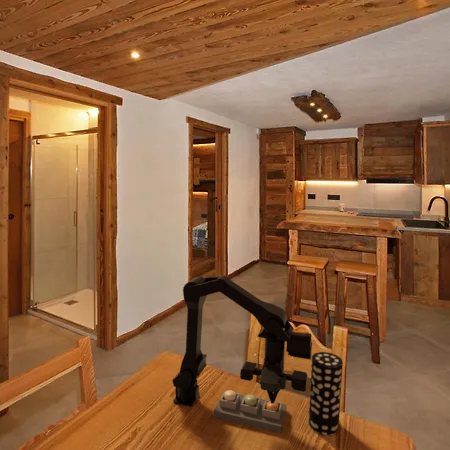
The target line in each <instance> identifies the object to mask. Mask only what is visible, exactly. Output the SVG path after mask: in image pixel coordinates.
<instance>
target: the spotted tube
mask: <svg viewBox="0 0 450 450" xmlns="http://www.w3.org/2000/svg"><path fill="white" fill-rule="evenodd" d="M343 363H344V362H343V359H342V358H341V356H339V355H336V354H335V353H331V352H328V351H327V352H326V351H319V352H315V353H313V354H312V355H311V364H310V365H311V369H310V370H311V372H310V387H309V389H310V390H309V405H308V406H309V407H308V409H309V410H308V425H309V427H310V428H311V429H312V430H313V431H314V432H316V433H318V434H321V435H324V436H326V435H327V436H331V435H334V434H336V433H337V432H339V428H340V427H339V426H340V410H341V397H342V396H341V393H342V378H343V366H344V364H343Z"/></svg>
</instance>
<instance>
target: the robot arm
mask: <svg viewBox="0 0 450 450" xmlns="http://www.w3.org/2000/svg"><path fill="white" fill-rule="evenodd" d="M182 293H183V295H182V296H183V301H184V304H185V305H186V308H187V315H186V333H185V334H186V335H185V336H186V339H185V353H184V355H183V358H182V361H181V363H180V368H179V372H177V374H176V375H175V376H174V377H173V378H172V384H173V387H174V388H175V397H174V399H173V400H172V402H173V403H175V404H179V405H183V406H187V407H193V406H194V404H195V403H196V401H197V400H198V399H199V398H200V397H199V396H200V393H199V391H200V386H199V384H198V378H199V377H200V375H201V374H202V372H203V371H204V370H205V368H206V367H207V354H204V353H203V352H202V349H201V348H202V345H201V344H202V326H203V307H204V304H205V301H206V300H207V297H208V296H209V295H212V294H216V293H221V294H222V295H223V296H225V297H226V298H228V299H229V300H231V301H233V302H234V303H235V304H237V305H238V306H240V307H241V308H243V309H244V310H245V311H247V312H248V313H250V314H251V315H252V316H253V317H255V319H256V320H257V323H258V324H259V325H260V326H261V327H262V329H260V330H259V332H258V334H257V338H259V339H260V338H261V339H264V354H263V355H264V356H263V358H264V359H263V365H262V368H259V367H258V363H256V362H252V361H245V362H243V365H242V367H241V369H240V372H239V373H240V374H239V377H240V379H241V380H243V381H249V382H250V381H252V380H253V379H254V376H258V377H259V385H260V389H261V390H262V391H267V395H268V400H270V402H271V403H273V404H274V402H275V401H276V399H277V397H278V394H279V392H280V390H285V389H286V387H287V383H291V384H290V386H291V388H292V389H293V391H298V392H306V391H307V384H308V373H307V372H305V371H300V370H296V369H293V372H292V373H293V374H289V373H288V372H287V371H285V356H286V355H285V353H287V356H289V357H293V358H298V359H303V360H304V359H306V360H309V361H310V360H311V361H312V352H313V351H312V350H313V342H312V334H311V333H307V332H306V333H303V332H296V331H295V332H294V327H293V325H292V324H291V322H290V321H289V319H288V315H287V312H286V310H285V309H283V308H282V307H279V306H277V305H276V304H273V303H271V302H266V301H263V300H261V299H260V298H258V297H257V296H255V295H253V294H252V293H251V292H249V291H248V290H246V289H244V288H243V287H241V286H240V285H239V284H237V283H236V282H234V281H233V280H231V279H230V278H229V277H228V276H227V275H222V274H221V275H219V276H209V277H203V276H195V277H194V278H192V279H191V280H189V281H187V283H185V284H184V285H183V287H182ZM285 351H286V352H285Z"/></svg>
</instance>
